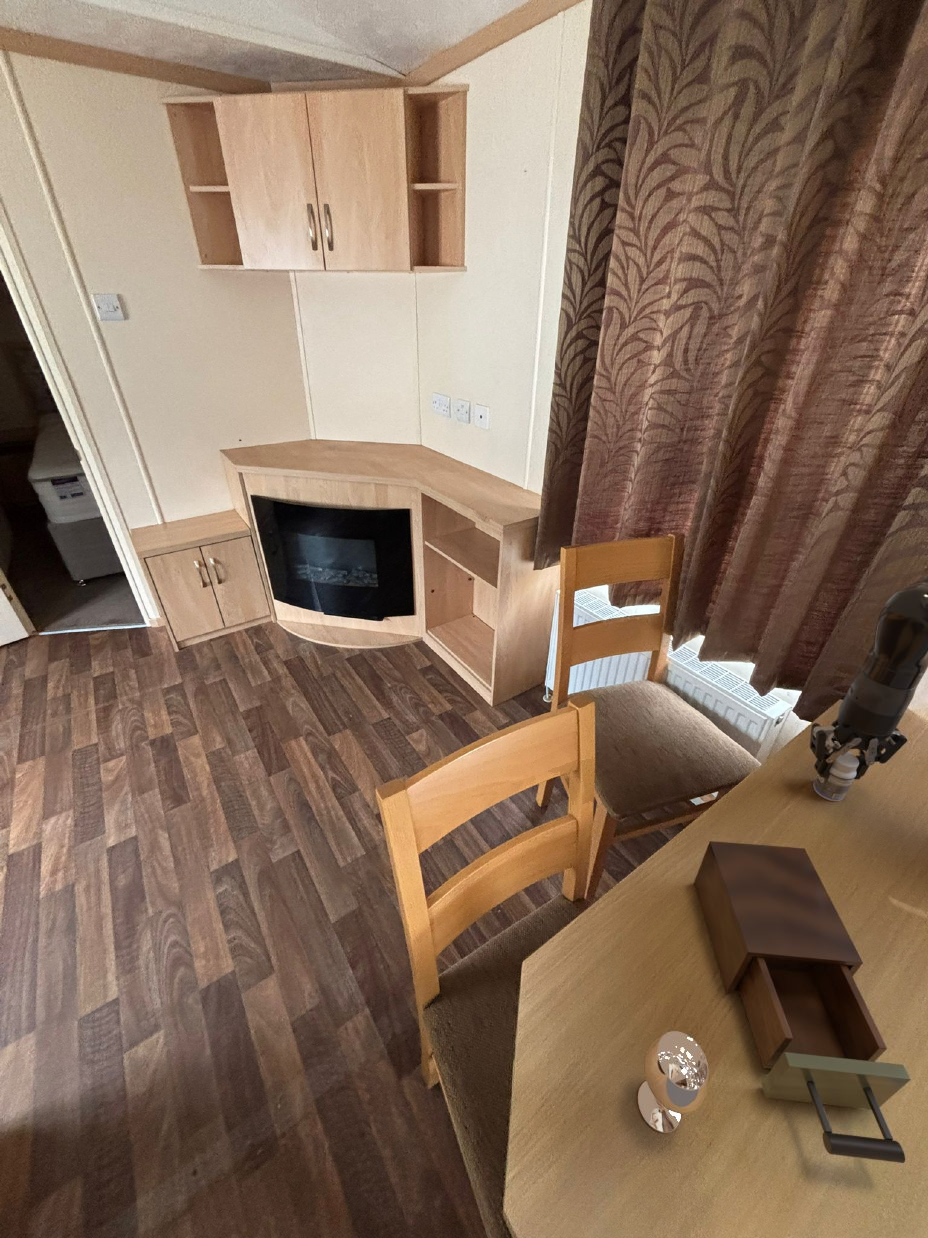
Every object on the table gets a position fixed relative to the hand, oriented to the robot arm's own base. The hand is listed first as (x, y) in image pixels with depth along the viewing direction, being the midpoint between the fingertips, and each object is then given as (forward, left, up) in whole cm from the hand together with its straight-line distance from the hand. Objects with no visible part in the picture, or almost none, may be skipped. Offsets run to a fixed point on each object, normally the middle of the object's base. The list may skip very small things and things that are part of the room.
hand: (837, 774), depth 90 cm
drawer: (+22, +40, -3) cm, 46 cm away
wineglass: (+39, +46, -5) cm, 60 cm away
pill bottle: (0, 0, -5) cm, 5 cm away
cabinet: (+22, +27, -4) cm, 35 cm away
